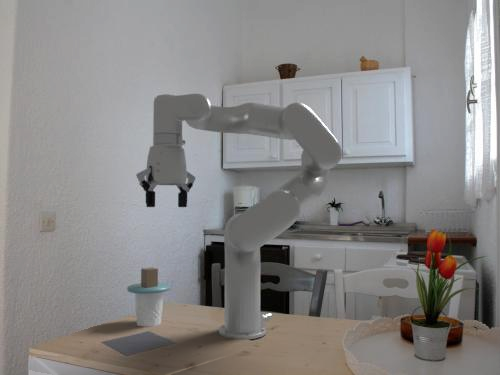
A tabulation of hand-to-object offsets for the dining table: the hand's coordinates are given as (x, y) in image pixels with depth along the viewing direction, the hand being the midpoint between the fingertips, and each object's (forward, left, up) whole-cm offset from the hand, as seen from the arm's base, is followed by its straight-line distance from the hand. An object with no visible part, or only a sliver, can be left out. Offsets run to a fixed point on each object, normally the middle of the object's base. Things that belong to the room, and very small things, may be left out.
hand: (167, 207), depth 110 cm
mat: (+9, +2, -33) cm, 34 cm away
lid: (-2, -12, -23) cm, 26 cm away
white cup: (-2, -12, -34) cm, 36 cm away
